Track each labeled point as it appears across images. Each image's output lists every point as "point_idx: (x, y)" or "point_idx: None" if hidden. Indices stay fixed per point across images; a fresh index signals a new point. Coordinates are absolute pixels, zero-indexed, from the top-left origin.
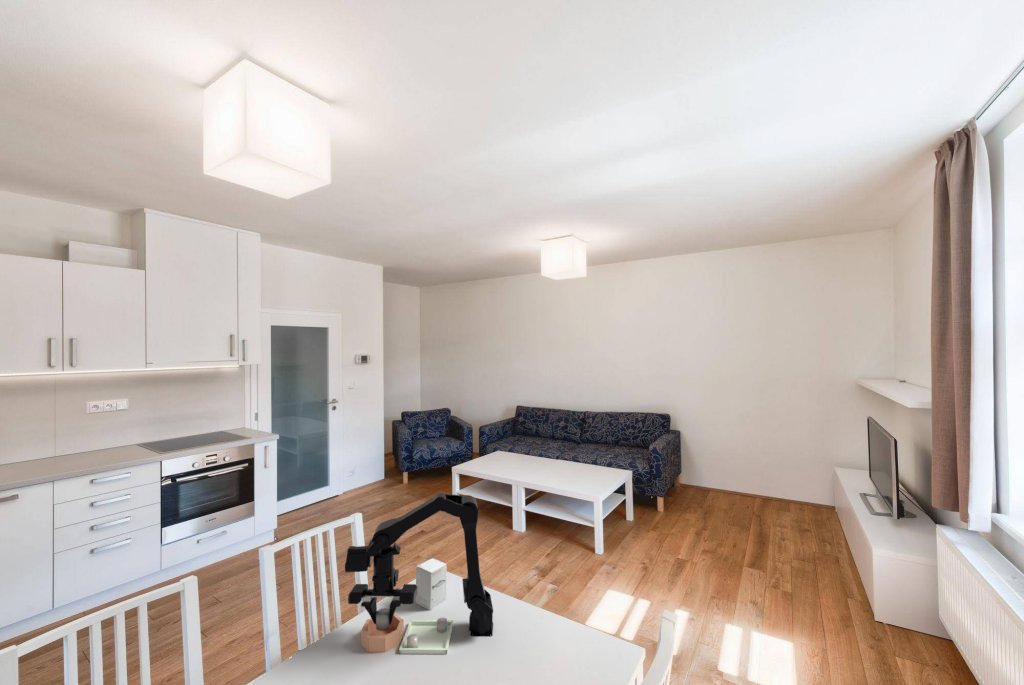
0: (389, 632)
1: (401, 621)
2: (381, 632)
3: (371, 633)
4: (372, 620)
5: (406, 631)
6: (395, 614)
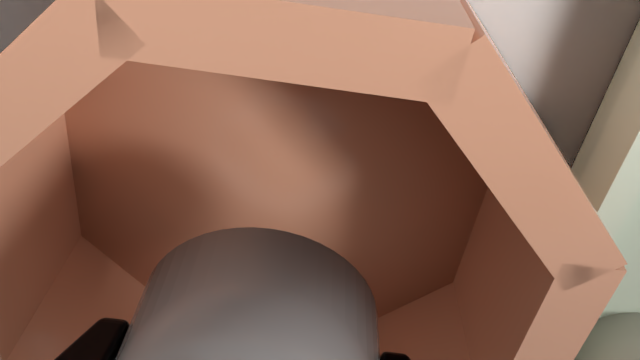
0: (350, 106)
1: (580, 284)
2: (231, 90)
3: (90, 94)
4: (2, 158)
5: (605, 210)
6: (470, 62)
